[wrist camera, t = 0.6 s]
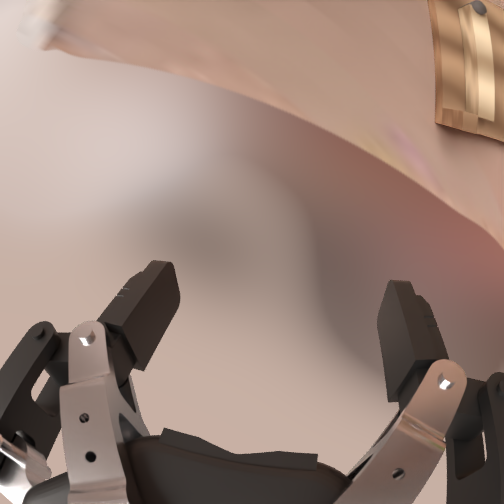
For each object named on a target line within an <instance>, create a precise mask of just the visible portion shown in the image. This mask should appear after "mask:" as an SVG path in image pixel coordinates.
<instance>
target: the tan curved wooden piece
mask: <svg viewBox="0 0 504 504" xmlns="http://www.w3.org/2000/svg"><path fill="white" fill-rule="evenodd" d="M458 12H459V18H460V24H461V31H462V39H463V48H464V59H465V78H466V111H465V112H468V113H471V114H475V115H478V118H481V119H485V120H489V121H493V122H494V111H495V84H494V65H493V54H492V45H491V37H490V31H489V25H488V19H487V14H486V12H487V9H486V7H485V5H484V4H483V3H482V2H481V1H479V0H475V1H472V2H470V3H468V4H466V5H464V6H462V7H460V8H459V9H458Z"/></svg>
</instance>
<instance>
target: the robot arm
mask: <svg viewBox="0 0 504 504" xmlns="http://www.w3.org/2000/svg"><path fill="white" fill-rule="evenodd" d="M179 303H180V291H179V287H178V283H177V278H176V274H175V269H174V265H173V264H172V263H171V262H166V261H156V260H153V261H151V262H150V264H149V265H148V266H147V267H146V268H145V270H144V271H143V272H139V273H138V274H136V275H135V276H133V277H132V278H130V279H129V280H128V282H127V283H126V284H125V285H124V286H123V289H121V290H120V291H119V293H118V294H117V296H116V297H115V298H114V299H113V300H112V302H111V303H110V304H109V305H108V307H107V308H106V309H105V310H104V312H103V313H102V314H101V316H100V317H99V318H98V319H97V321H87V322H83V323H81V324H80V325H78V326H77V327H75V328H74V330H73V331H72V332H71V333H57V332H56V330H55V328H54V327H53V325H52V324H51V323H50V322H47V321H43V322H39V323H37V324H35V325H34V326H32V327H31V328H30V329H29V330H28V332H27V333H26V334H25V336H24V337H23V338H22V340H21V341H20V343H19V344H18V345H17V347H16V348H15V349H14V351H13V352H12V354H11V355H10V356H9V358H8V359H7V361H6V362H5V364H4V365H3V367H2V368H1V370H0V491H1V492H2V493H3V494H4V495H5V496H6V497H7V498H8V499H9V500H10V501H12V502H13V503H14V504H412V503H413V502H414V500H415V499H416V497H417V496H418V494H419V493H420V492H421V490H422V488H423V487H424V485H425V484H426V482H427V480H428V479H429V477H430V476H431V474H432V472H433V471H434V469H435V467H436V465H437V464H438V462H439V460H440V458H441V456H442V455H443V452H444V450H445V448H446V456H447V502H446V504H504V373H501V372H497V373H494V374H492V375H491V376H490V377H489V379H488V380H487V381H486V382H484V381H480V380H475V379H471V378H467V377H466V374H465V372H464V370H463V369H462V368H461V367H460V366H459V365H458V364H457V363H455V362H453V361H451V360H449V357H448V354H447V351H446V348H445V345H444V342H443V339H442V337H441V334H440V331H439V328H438V327H437V323H436V320H435V318H434V315H433V312H432V310H431V307H430V305H429V304H428V303H427V302H426V301H425V299H424V298H423V297H422V296H418V295H416V294H415V292H414V289H413V287H412V284H411V282H409V281H399V280H390V281H389V283H388V285H387V288H386V291H385V294H384V298H383V301H382V304H381V307H380V310H379V313H378V321H377V326H378V327H377V328H378V333H379V339H380V345H381V352H382V358H383V365H384V372H385V380H386V388H387V398H388V402H399V410H398V411H397V412H396V414H395V415H394V417H393V418H392V420H391V421H390V423H389V424H388V426H387V427H386V428H385V430H384V431H383V433H382V434H381V435H380V436H379V438H378V439H377V441H376V442H375V443H374V444H373V446H372V447H371V448H370V449H369V451H368V452H367V453H366V454H365V455H364V456H363V457H362V458H361V460H360V461H359V462H358V463H357V464H356V465H355V466H354V467H353V468H352V470H350V471H349V473H348V474H347V475H344V474H343V473H341V472H340V471H338V470H336V469H335V468H333V467H330V466H328V465H326V464H323V463H320V462H317V457H318V454H309V453H294V452H282V451H275V452H264V453H252V454H234V453H231V452H229V451H226V450H224V449H222V448H220V447H218V446H215V445H213V444H211V443H209V442H207V441H205V440H203V439H201V438H199V437H196V436H192V435H188V434H184V433H181V432H177V431H174V430H170V429H167V428H164V429H163V431H162V434H161V435H154V436H153V435H152V436H150V434H149V431H148V429H147V427H146V426H145V424H144V422H143V419H142V417H141V413H140V410H139V406H138V403H137V399H136V394H135V390H134V386H133V382H132V378H131V376H130V372H131V370H132V369H133V368H134V369H138V370H141V371H144V370H145V368H146V366H147V364H148V363H149V360H150V359H151V357H152V355H153V353H154V351H155V349H156V348H157V346H158V344H159V342H160V340H161V338H162V337H163V335H164V333H165V331H166V329H167V327H168V326H169V324H170V322H171V320H172V318H173V317H174V315H175V313H176V311H177V309H178V307H179ZM43 369H45V370H46V372H47V373H48V374H49V375H50V377H49V379H48V381H47V382H46V384H45V386H44V388H43V389H42V391H41V393H40V394H39V396H38V398H37V400H36V401H35V402H34V400H33V399H32V396H31V390H32V387H33V386H34V384H35V382H36V381H37V379H38V377H39V376H40V374H41V373H42V371H43ZM61 428H62V437H63V446H64V453H65V459H66V466H67V472H65V473H63V474H60V475H58V476H56V477H53V478H51V479H49V478H50V477H51V473H52V472H51V469H50V468H49V467H48V466H47V463H46V460H47V458H48V456H49V453H50V451H51V449H52V447H53V444H54V442H55V440H56V438H57V436H58V434H59V432H60V430H61ZM482 432H484V434H485V442H486V450H487V459H486V462H485V455H484V445H483V437H482ZM444 437H445V440H446V442H444V441H443V439H444ZM45 479H49V480H46V481H45Z"/></svg>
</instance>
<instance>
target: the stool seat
mask: <svg viewBox="0 0 504 504" xmlns="http://www.w3.org/2000/svg"><path fill="white" fill-rule="evenodd" d="M427 1H428V6H429V12H430V19H431V26H432V35H433V44H434V57H435V79H436V108H435V123H438V124H442V125H446V126H449V127H453V128H456V129H460V130H463V131H467V132H470V133H474V134H481V135H484V136H487V137H490V138H493V139H497V140H500V141H502V142H504V9H502V8H500V7H499V6H497V5H495V4H493V3H491V2H489V1H487V0H479V1H481V2H482V3H483V4H484V5H485V7H486V9H487V12H486V14H487V19H488V25H489V31H490V37H491V45H492V54H493V65H494V84H495V111H494V122H493V121H489V120H485V119H481V118H478V115H475V114H471V113H468V112H465V111H466V78H465V59H464V48H463V39H462V31H461V24H460V18H459V12H458V9H459V8H460V7H462V6H464V5H466V4H468V3H470V2H472V1H475V0H427Z"/></svg>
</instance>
